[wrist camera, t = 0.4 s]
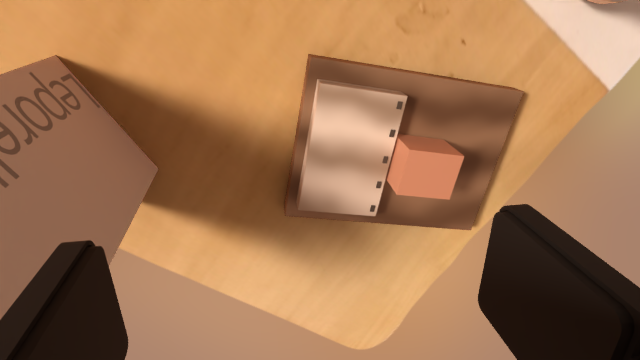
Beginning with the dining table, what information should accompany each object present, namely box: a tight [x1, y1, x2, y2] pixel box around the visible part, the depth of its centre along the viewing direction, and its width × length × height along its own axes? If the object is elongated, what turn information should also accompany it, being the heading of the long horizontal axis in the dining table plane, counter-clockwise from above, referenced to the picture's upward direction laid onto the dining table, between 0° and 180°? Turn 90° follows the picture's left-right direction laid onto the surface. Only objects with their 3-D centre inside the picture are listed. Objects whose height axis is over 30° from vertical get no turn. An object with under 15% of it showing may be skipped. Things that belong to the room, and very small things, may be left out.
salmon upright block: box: [386, 134, 464, 200], centre depth 43 cm, size 5×6×5 cm
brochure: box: [0, 55, 158, 320], centre depth 28 cm, size 14×6×30 cm, turn 30°
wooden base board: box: [284, 54, 523, 230], centre depth 46 cm, size 18×24×4 cm
